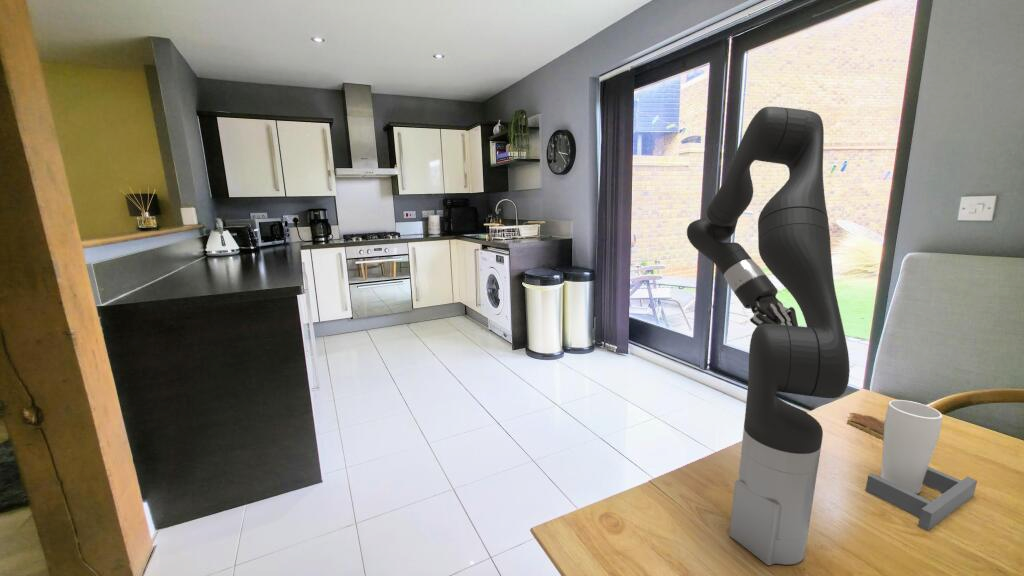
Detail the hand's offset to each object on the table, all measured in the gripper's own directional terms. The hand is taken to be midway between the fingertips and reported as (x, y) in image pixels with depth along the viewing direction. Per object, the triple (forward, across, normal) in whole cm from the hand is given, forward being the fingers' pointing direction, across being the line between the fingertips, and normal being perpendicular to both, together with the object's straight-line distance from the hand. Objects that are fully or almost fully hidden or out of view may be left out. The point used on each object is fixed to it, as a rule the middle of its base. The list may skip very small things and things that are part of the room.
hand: (799, 350), depth 85 cm
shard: (+20, +20, +9) cm, 30 cm away
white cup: (+27, +1, +1) cm, 27 cm away
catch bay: (+29, 0, -1) cm, 29 cm away
